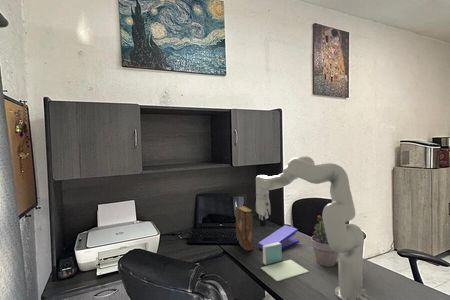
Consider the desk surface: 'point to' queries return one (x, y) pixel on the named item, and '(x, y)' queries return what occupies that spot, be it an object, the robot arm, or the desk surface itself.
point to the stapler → (281, 237)
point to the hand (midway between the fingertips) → (262, 225)
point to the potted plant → (322, 246)
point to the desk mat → (284, 270)
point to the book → (244, 227)
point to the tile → (272, 253)
